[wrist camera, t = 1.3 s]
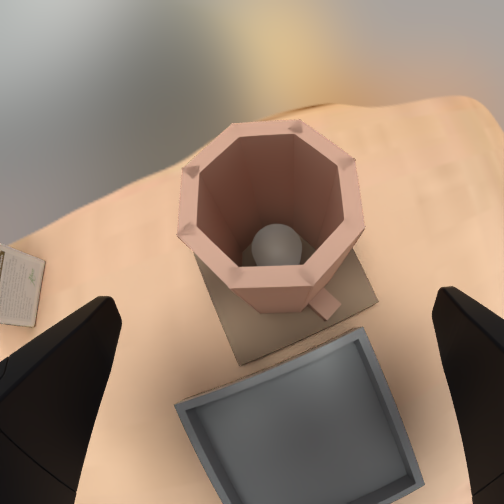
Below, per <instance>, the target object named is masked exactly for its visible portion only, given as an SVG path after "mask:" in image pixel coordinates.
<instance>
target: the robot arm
mask: <svg viewBox="0 0 504 504" xmlns="http://www.w3.org/2000/svg"><path fill="white" fill-rule="evenodd" d="M432 320H433V324H434V329H435V333H436V337H437V342H438V347H439V351H440V356H441V361H442V365H443V369H444V373H445V376H446V379H447V383H448V386H449V390H450V393H451V397H452V401H453V404H454V408H455V412H456V416H457V420H458V424H459V429H460V433H461V437H462V442H463V447H464V452H465V457H466V462H467V468H468V473H469V479H470V486H471V493H472V502H473V504H504V319H502V318H501V317H499V316H498V315H496V314H495V313H494V312H492V311H491V310H489V309H488V308H486V307H485V306H483V305H482V304H480V303H479V302H477V301H476V300H474V299H472V298H471V297H469V296H468V295H466V294H465V293H463V292H462V291H460V290H458V289H457V288H455V287H453V286H449V287H441V288H440V289H439V291H438V294H437V297H436V300H435V304H434V307H433V311H432ZM121 327H122V320H121V316H120V314H119V312H118V309H117V307H116V304H115V301H114V299H113V298H112V297H110V296H98V297H97V298H95V299H93V300H92V301H90V302H89V303H87V304H86V305H84V306H83V307H81V308H79V309H78V310H76V311H75V312H73V313H72V314H70V315H69V316H67V317H66V318H64V319H63V320H61V321H60V322H58V323H57V324H55V325H54V326H52V327H51V328H49V329H48V330H46V331H45V332H43V333H42V334H40V335H39V336H37V337H36V338H34V339H33V340H31V341H30V342H28V343H27V344H26V345H24V346H23V347H21V348H20V349H18V350H17V351H15V352H14V353H13V354H11V355H10V356H9V357H7V358H5V359H4V360H2V361H1V362H0V504H74V502H75V498H76V492H77V488H78V484H79V479H80V475H81V471H82V467H83V463H84V459H85V456H86V452H87V448H88V444H89V441H90V437H91V434H92V430H93V427H94V423H95V420H96V416H97V413H98V410H99V407H100V403H101V400H102V397H103V394H104V391H105V388H106V385H107V381H108V378H109V375H110V372H111V368H112V365H113V360H114V356H115V352H116V347H117V343H118V339H119V335H120V331H121Z"/></svg>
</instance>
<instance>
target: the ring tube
mask: <svg viewBox="0 0 504 504" xmlns="http://www.w3.org/2000/svg"><path fill="white" fill-rule="evenodd" d="M355 161H356V159H355V158H353V157H352V156H350V155H349V154H348V153H346V152H345V151H344V150H342V149H341V148H340V147H338V146H337V145H336V144H334V143H333V142H332V141H330V140H329V139H327V138H326V137H325V136H323V135H322V134H320V133H319V132H318V131H316V130H315V129H313V128H312V127H310V126H309V125H307V124H306V123H304V122H303V121H302V120H300V119H299V120H277V121H260V122H246V123H236V124H235V123H233V124H231V125H230V126H229V127H228V128H227V129H225V130H224V131H223V132H222V133H221V134H220V135H219V136H217V137H216V138H215V139H214V140H213V141H212V142H211V143H209V144H208V145H207V146H206V147H205V148H204V149H203V150H202V151H200V152H199V153H198V154H197V155H196V156H195V157H194V158H193V159H192V160H191V161H190V162H188V163H187V164H186V165H185V166H184V167H182V177H181V188H180V201H179V214H178V229H177V234H176V235H177V237H178V238H179V239H180V240H181V241H182V242H184V243H185V244H186V245H187V246H188V247H189V248H190V249H191V250H192V251H193V252H194V253H195V254H196V255H197V256H198V257H199V258H200V259H201V260H202V261H203V262H204V263H205V264H206V265H207V266H208V267H209V268H210V269H211V270H212V271H213V272H214V273H215V274H216V275H217V276H218V277H219V278H220V279H221V280H222V281H223V282H224V283H225V284H226V285H227V286H228V288H229V289H230V290H231V291H232V292H234V293H235V294H236V295H237V296H239V297H240V298H241V299H242V300H244V301H245V302H246V303H247V304H249V305H250V306H251V307H252V308H254V309H255V310H256V311H257V312H259V313H260V314H261V313H294V312H302V310H303V309H304V308H305V307H306V306H309V307H310V308H311V309H312V310H313V311H314V312H315V313H316V314H317V315H318V316H319V317H320V318H322V319H323V320H324V321H327V320H328V319H329V318H330V317H331V315H332V314H333V313H334V312H335V311H336V310H337V309H338V308H339V307H340V305H341V303H340V302H339V301H338V300H337V299H336V298H335V297H333V296H332V295H331V294H330V293H329V292H328V291H327V290H326V289H325V288H324V286H325V285H326V284H328V282H329V281H330V279H331V278H332V277H333V275H334V274H335V272H336V271H337V269H338V268H339V267H340V265H341V264H342V262H343V261H344V259H345V258H346V256H347V255H348V253H349V252H350V250H351V249H352V248H353V246H354V245H355V243H356V242H357V240H358V239H359V237H360V236H361V234H362V232H363V231H364V229H365V227H366V226H365V224H364V216H363V208H362V201H361V194H360V187H359V181H358V174H357V168H356V162H355ZM271 224H283V225H287V226H289V227H291V228H292V229H293V230H294V231H295V232H296V233H297V234H299V235H300V236H301V237H302V238H303V239H304V240H305V241H307V242H308V243H309V244H310V245H311V246H312V247H313V248H314V249H315V250H316V252H315V253H314V254H313V255H312V256H311V257H310V258H309V259H308V260H307V261H306V262H305V263H304V265H284V266H255V267H242V252H243V251H244V250H245V249H246V248H247V247H248V246H249V245H250V244H251V243H252V242H253V239H254V237H255V235H256V234H257V233H258V231H260V230H261V229H262V228H263V227H265V226H268V225H271Z"/></svg>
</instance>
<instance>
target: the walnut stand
mask: <svg viewBox="0 0 504 504" xmlns="http://www.w3.org/2000/svg"><path fill="white" fill-rule="evenodd" d="M315 252H316V250H315V249H314V248H313V247H312V246H311V245H310V244H309V243H308V242H307V241H305V240H304V239H303V238H302V237H301V236H300V235H299V234H297V233H296V232H295V231H294V230H293V229H292V228H291V227H289V226H287V225H283V224H271V225H268V226H265V227H263V228H262V229H261V230H260V231H258V233H257V234H256V235H255V237H254V239H253V242H252V243H251V244H250V245H249V246H248V247H247V248H246V249H245V250H244V251H243V252H242V267H255V266H284V265H304V263H305V262H306V261H307V260H308V259H309V258H310V257H311V256H312V255H313V254H314V253H315ZM193 253H194V252H193ZM194 256H195V258H196V261H197V264H198V266H199V269H200V271H201V274H202V277H203V279H204V282H205V284H206V287H207V289H208V292H209V294H210V297H211V300H212V302H213V305H214V307H215V309H216V312H217V314H218V317H219V319H220V322H221V324H222V327H223V329H224V331H225V334H226V336H227V339H228V341H229V343H230V346H231V348H232V351H233V353H234V355H235V358H236V360H237V362H238V365H239V366H240V365H243V364H245V363H248V362H250V361H252V360H255V359H257V358H260V357H262V356H265V355H267V354H269V353H272V352H274V351H276V350H279V349H281V348H283V347H286V346H288V345H290V344H292V343H295V342H297V341H299V340H301V339H304V338H306V337H308V336H310V335H312V334H315V333H317V332H319V331H321V330H323V329H325V328H327V327H329V326H331V325H334V324H336V323H338V322H340V321H342V320H344V319H346V318H348V317H350V316H352V315H354V314H356V313H358V312H360V311H362V310H364V309H366V308H368V307H370V306H372V305H374V304H375V303H377V302H379V301H378V299H377V297H376V295H375V293H374V291H373V288H372V286H371V284H370V282H369V280H368V278H367V276H366V274H365V272H364V270H363V268H362V266H361V264H360V262H359V260H358V258H357V256H356V254H355V252H354V250H353V248H352V249H351V250H350V252H349V253H348V255H347V256H346V258H345V259H344V261H343V262H342V264H341V265H340V267H339V268H338V269H337V271H336V272H335V274H334V275H333V277H332V278H331V279H330V281H329V282H328V284H326V285H325V286H324V288H325V289H326V290H327V291H328V292H329V293H330V294H331V295H332V296H333V297H335V298H336V299H337V300H338V301H339V302H340V303H341V305H340V307H339V308H338V309H337V310H336V311H335V312H334V313H333V314H332V315H331V317H330V318H329V319H328V320H327V321H324V320H323V319H322V318H320V317H319V316H318V315H317V314H316V313H315V312H314V311H313V310H312V309H311V308H310V307H309V306H306V307H305V308H304V309H303V310H302V312H294V313H261V314H260V313H259V312H257V311H256V310H255V309H254V308H252V307H251V306H250V305H249V304H247V303H246V302H245V301H244V300H242V299H241V298H240V297H239V296H237V295H236V294H235V293H234V292H232V291H231V290H230V289H229V288H228V286H227V285H226V284H225V283H224V282H223V281H222V280H221V279H220V278H219V277H218V276H217V275H216V274H215V273H214V272H213V271H212V270H211V269H210V268H209V267H208V266H207V265H206V264H205V263H204V262H203V261H202V260H201V259H200V258H199V257H198V256H197V255H196V254H195V253H194Z"/></svg>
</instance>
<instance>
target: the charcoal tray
mask: <svg viewBox="0 0 504 504" xmlns="http://www.w3.org/2000/svg"><path fill="white" fill-rule="evenodd" d="M174 406H175V409H176V411H177V413H178V415H179V418H180V420H181V422H182V424H183V427H184V429H185V431H186V433H187V435H188V437H189V439H190V442H191V444H192V446H193V448H194V450H195V452H196V454H197V456H198V458H199V460H200V462H201V464H202V466H203V468H204V470H205V472H206V474H207V475H208V477H209V479H210V481H211V483H212V485H213V487H214V488H215V490H216V492H217V494H218V496H219V498H220V499H221V501H222V503H223V504H390V503H392V502H394V501H396V500H398V499H400V498H402V497H404V496H406V495H408V494H410V493H411V492H413V491H415V490H417V489H419V488H420V487H422V486H424V485H425V483H424V480H423V477H422V474H421V471H420V469H419V466H418V463H417V460H416V457H415V454H414V451H413V449H412V446H411V443H410V440H409V438H408V435H407V432H406V430H405V427H404V424H403V422H402V419H401V417H400V414H399V411H398V409H397V406H396V404H395V401H394V399H393V396H392V394H391V391H390V389H389V386H388V384H387V381H386V379H385V377H384V374H383V372H382V369H381V367H380V365H379V362H378V360H377V358H376V355H375V353H374V351H373V348H372V346H371V344H370V341H369V339H368V337H367V335H366V332H365V330H364V328H363V327H358V328H354V329H352V330H350V331H348V332H346V333H344V334H341V335H339V336H337V337H335V338H333V339H331V340H329V341H327V342H325V343H323V344H321V345H318V346H316V347H314V348H312V349H310V350H307V351H305V352H303V353H301V354H299V355H296V356H294V357H292V358H289V359H287V360H285V361H283V362H280V363H278V364H275V365H273V366H271V367H268V368H266V369H263V370H261V371H259V372H256V373H254V374H251V375H249V376H246V377H243V378H241V379H238V380H236V381H233V382H230V383H228V384H225V385H222V386H220V387H217V388H214V389H211V390H209V391H206V392H203V393H200V394H197V395H194V396H191V397H188V398H186V399H184V400H182V401H180V402H178V403H176V404H175V405H174Z"/></svg>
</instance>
